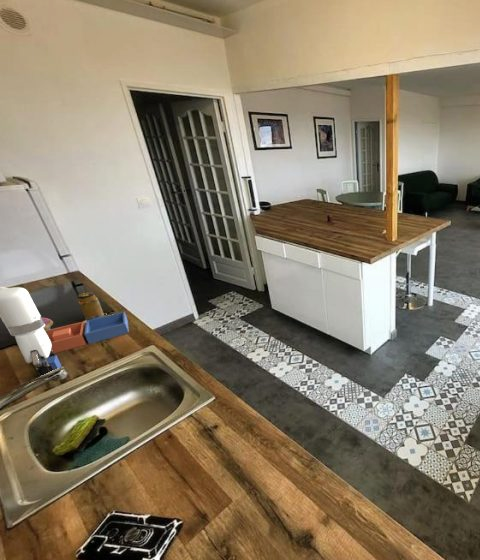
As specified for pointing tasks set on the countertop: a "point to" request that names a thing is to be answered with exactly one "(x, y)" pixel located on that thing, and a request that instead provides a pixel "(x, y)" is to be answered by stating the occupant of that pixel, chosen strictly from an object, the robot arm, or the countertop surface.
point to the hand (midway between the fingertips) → (50, 369)
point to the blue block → (53, 362)
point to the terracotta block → (62, 334)
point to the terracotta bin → (70, 342)
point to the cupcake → (47, 323)
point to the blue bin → (106, 327)
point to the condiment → (90, 306)
